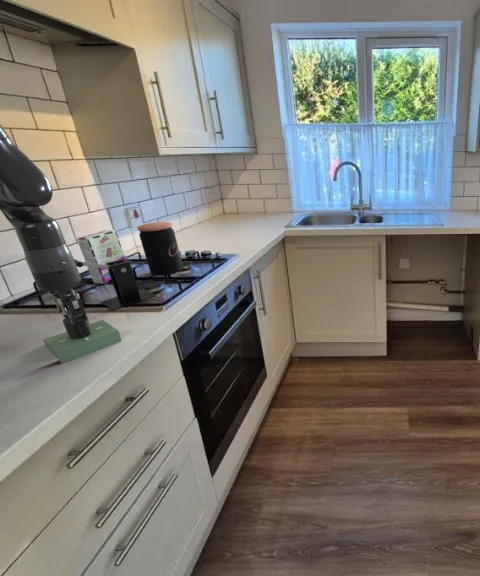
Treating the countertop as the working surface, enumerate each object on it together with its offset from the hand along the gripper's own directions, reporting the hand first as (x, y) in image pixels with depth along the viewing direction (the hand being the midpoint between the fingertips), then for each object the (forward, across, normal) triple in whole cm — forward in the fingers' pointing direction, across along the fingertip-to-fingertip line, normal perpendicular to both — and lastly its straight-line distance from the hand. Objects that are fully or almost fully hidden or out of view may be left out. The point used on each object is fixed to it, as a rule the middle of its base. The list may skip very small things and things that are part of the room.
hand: (80, 332), depth 86 cm
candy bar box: (+4, -48, +22) cm, 53 cm away
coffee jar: (+4, -36, +36) cm, 51 cm away
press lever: (-8, -19, +12) cm, 24 cm away
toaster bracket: (+3, -19, +17) cm, 26 cm away
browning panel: (+4, 0, 0) cm, 4 cm away
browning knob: (0, 0, 0) cm, 0 cm away
